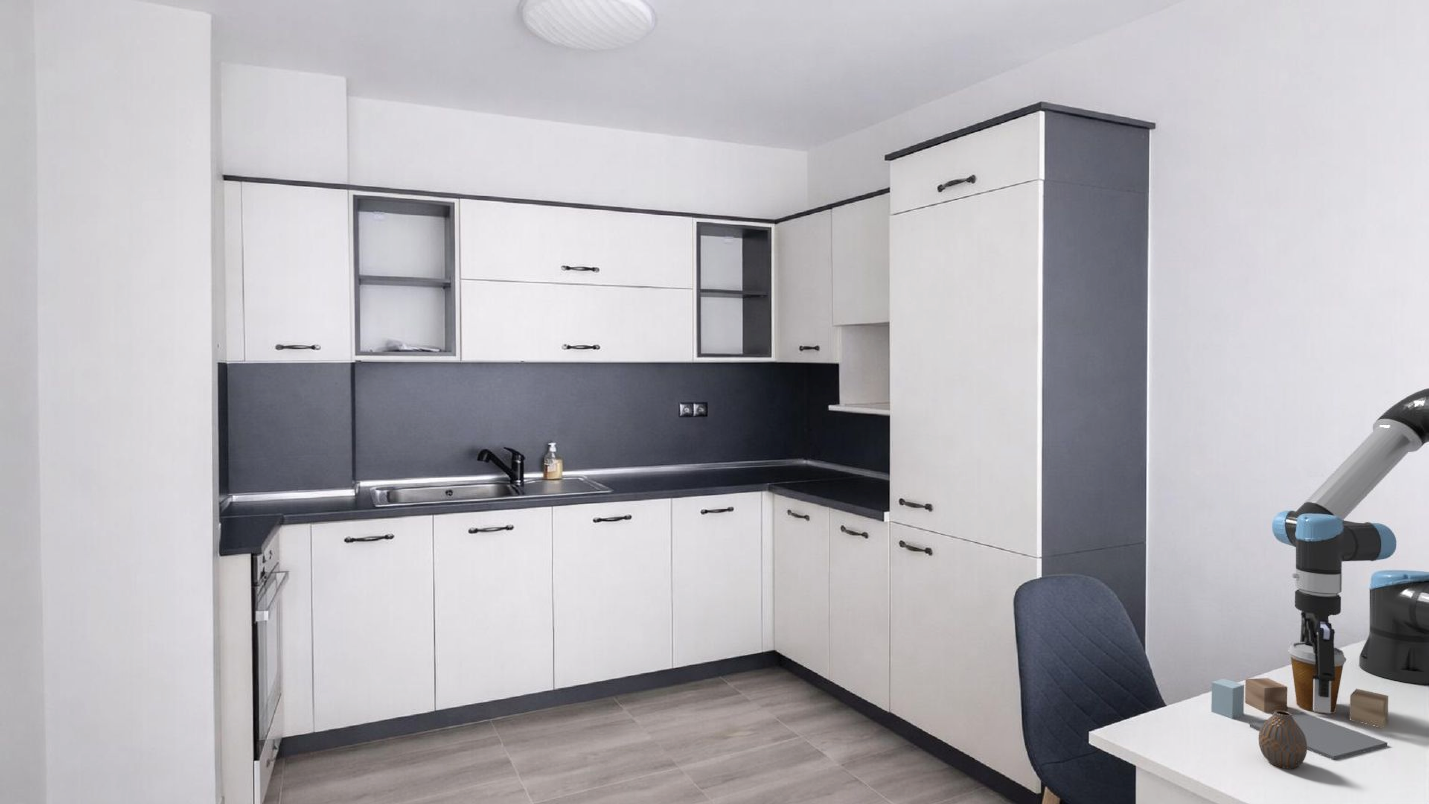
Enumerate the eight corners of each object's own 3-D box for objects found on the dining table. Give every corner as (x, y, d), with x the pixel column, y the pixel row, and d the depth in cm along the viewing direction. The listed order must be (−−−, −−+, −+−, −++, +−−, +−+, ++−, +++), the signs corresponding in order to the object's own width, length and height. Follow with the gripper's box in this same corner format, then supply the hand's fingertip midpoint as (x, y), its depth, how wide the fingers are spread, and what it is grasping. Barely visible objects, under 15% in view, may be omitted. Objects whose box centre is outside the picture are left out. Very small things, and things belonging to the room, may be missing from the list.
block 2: (1267, 702, 171) (1267, 678, 171) (1286, 711, 166) (1287, 686, 166) (1245, 703, 171) (1245, 679, 171) (1264, 712, 166) (1264, 687, 166)
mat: (1301, 715, 164) (1301, 712, 164) (1387, 745, 150) (1387, 742, 150) (1249, 726, 159) (1249, 723, 159) (1333, 759, 145) (1333, 756, 145)
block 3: (1355, 713, 165) (1356, 688, 165) (1387, 721, 162) (1388, 695, 162) (1349, 720, 162) (1350, 694, 162) (1382, 728, 158) (1382, 702, 158)
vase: (1316, 769, 141) (1317, 718, 141) (1285, 775, 139) (1286, 723, 139) (1278, 752, 148) (1279, 703, 148) (1248, 757, 146) (1249, 707, 146)
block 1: (1243, 715, 165) (1222, 708, 168) (1244, 684, 164) (1223, 678, 168) (1232, 719, 163) (1211, 712, 166) (1232, 688, 162) (1211, 682, 166)
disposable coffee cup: (1355, 718, 163) (1356, 657, 162) (1300, 714, 165) (1301, 654, 164) (1329, 700, 172) (1331, 642, 172) (1278, 697, 174) (1279, 639, 174)
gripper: (1283, 578, 179) (1281, 683, 179) (1309, 602, 160) (1307, 720, 160) (1325, 582, 176) (1323, 689, 176) (1357, 606, 157) (1354, 726, 157)
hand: (1315, 703), depth 168 cm, fingers closed on disposable coffee cup, 8 cm apart
